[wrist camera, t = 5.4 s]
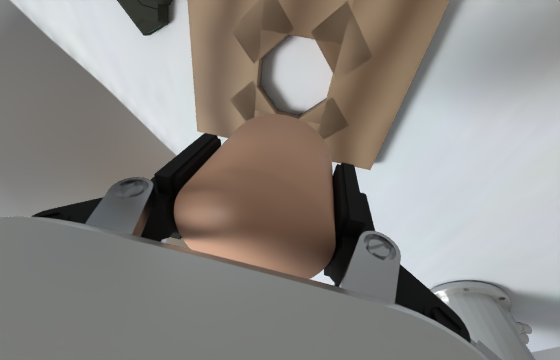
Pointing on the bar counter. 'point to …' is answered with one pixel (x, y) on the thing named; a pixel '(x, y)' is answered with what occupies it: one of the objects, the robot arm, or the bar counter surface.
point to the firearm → (147, 14)
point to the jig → (337, 51)
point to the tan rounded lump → (264, 198)
